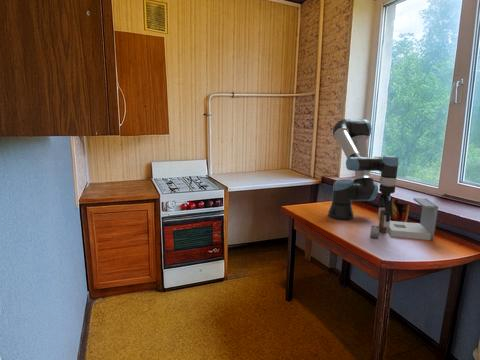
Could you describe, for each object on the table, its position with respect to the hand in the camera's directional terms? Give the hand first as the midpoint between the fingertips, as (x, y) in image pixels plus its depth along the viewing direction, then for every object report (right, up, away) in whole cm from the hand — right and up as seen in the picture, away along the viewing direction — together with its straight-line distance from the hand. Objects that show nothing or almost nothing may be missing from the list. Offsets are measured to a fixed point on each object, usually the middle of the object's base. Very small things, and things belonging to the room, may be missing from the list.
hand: (383, 222), depth 163 cm
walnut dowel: (0, -5, +1) cm, 5 cm away
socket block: (+13, -6, 0) cm, 14 cm away
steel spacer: (-8, -7, -7) cm, 13 cm away
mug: (+20, -2, +19) cm, 27 cm away
